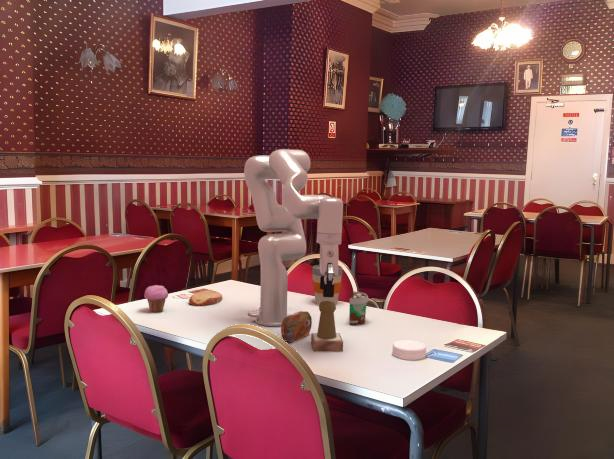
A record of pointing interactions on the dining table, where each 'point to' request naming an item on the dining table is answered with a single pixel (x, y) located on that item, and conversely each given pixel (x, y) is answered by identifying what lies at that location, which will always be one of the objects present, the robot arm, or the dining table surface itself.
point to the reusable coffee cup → (319, 292)
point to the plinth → (326, 343)
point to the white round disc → (409, 350)
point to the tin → (296, 326)
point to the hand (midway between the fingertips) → (326, 293)
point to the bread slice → (205, 298)
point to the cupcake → (156, 297)
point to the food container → (358, 308)
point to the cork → (326, 320)
